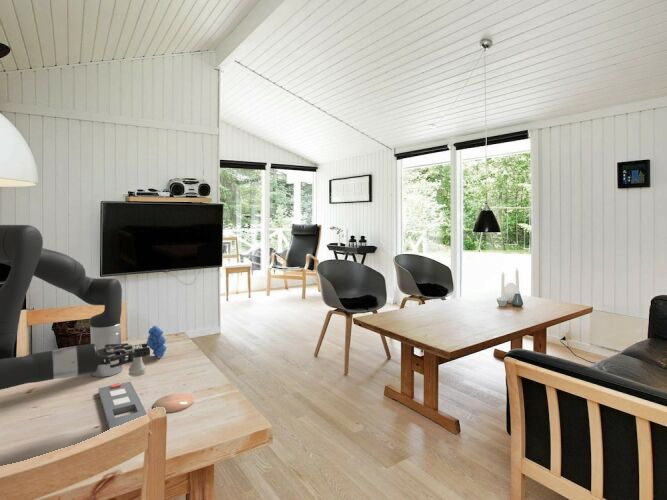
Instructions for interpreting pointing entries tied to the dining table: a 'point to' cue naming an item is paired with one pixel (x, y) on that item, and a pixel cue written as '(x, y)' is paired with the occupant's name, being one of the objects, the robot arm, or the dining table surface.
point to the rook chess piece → (137, 365)
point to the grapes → (156, 341)
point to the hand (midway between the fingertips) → (148, 349)
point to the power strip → (120, 403)
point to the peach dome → (175, 402)
